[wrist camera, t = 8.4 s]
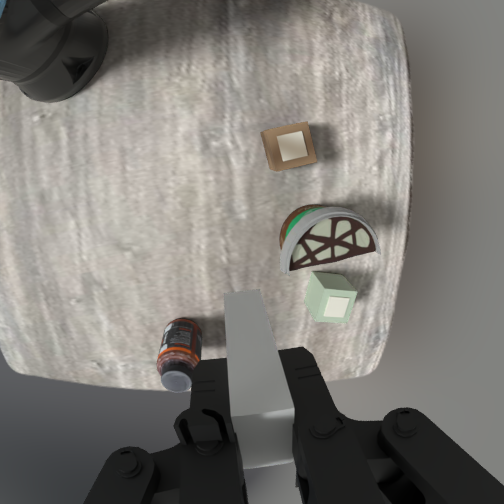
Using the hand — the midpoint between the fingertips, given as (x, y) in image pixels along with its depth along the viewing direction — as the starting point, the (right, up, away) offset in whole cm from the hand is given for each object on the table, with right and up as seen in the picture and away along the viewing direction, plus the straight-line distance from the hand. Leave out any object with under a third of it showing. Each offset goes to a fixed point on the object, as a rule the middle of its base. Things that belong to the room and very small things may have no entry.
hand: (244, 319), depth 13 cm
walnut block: (+4, +17, +25) cm, 30 cm away
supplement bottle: (-10, -10, +33) cm, 36 cm away
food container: (+8, +8, +29) cm, 31 cm away
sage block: (+11, -3, +32) cm, 34 cm away
